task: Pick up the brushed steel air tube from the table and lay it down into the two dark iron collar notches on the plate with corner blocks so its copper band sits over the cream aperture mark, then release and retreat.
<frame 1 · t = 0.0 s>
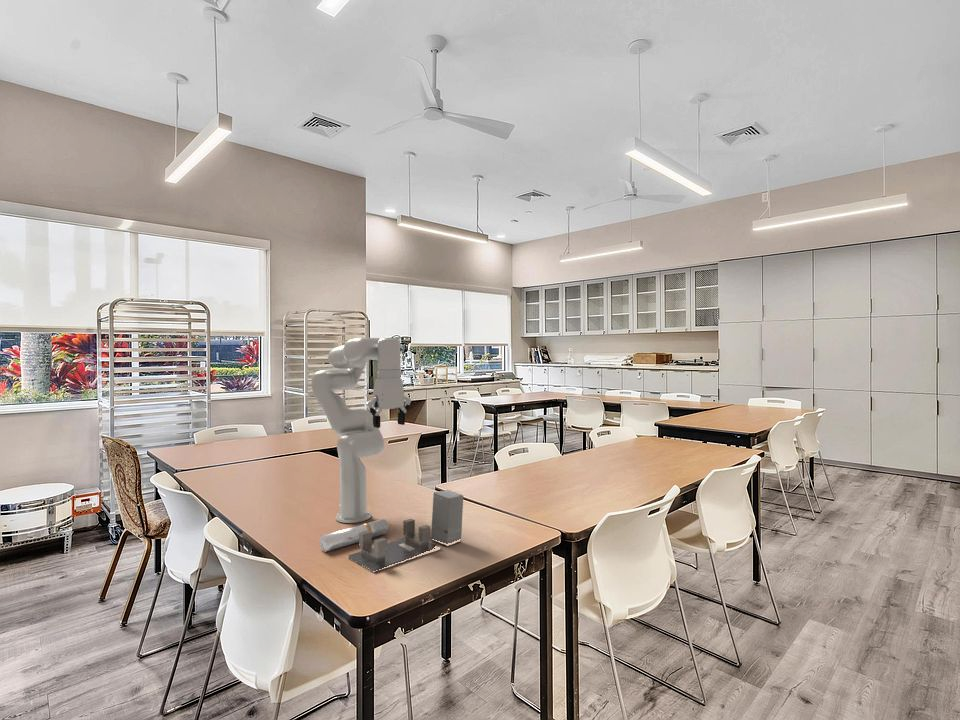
hand: (389, 425, 171), 37 cm above the table, tool pointing down, fingers open, 9 cm apart
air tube: (355, 534, 165), point 3 cm above the table
plate with corner blocks: (395, 554, 155), on the table
skincare box: (447, 542, 165), on the table
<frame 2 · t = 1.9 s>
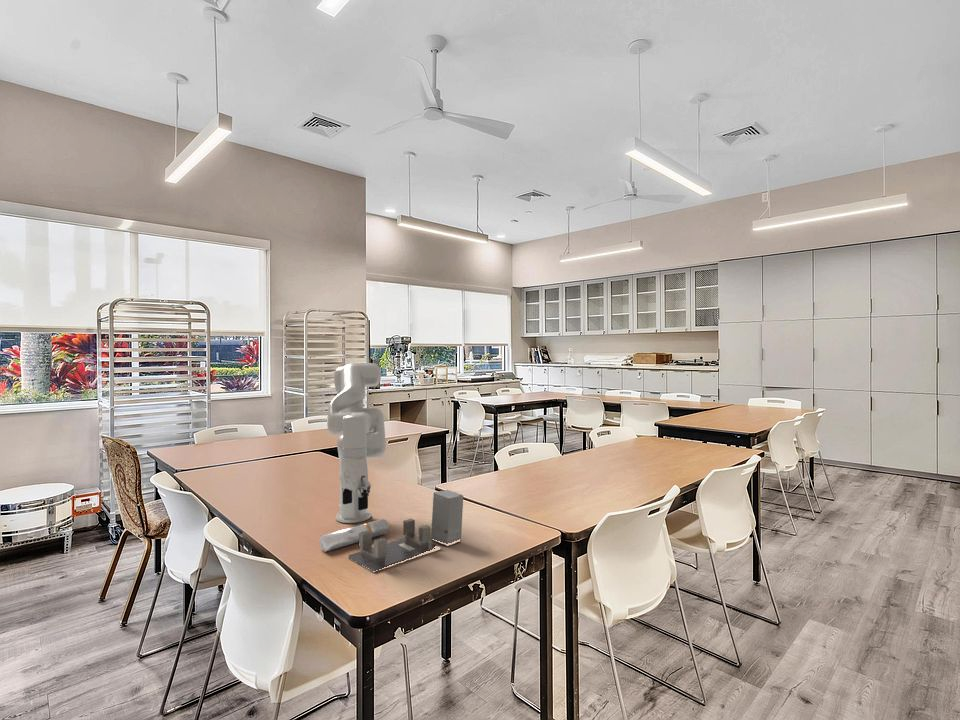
hand: (355, 506, 164), 12 cm above the table, tool pointing down, fingers open, 9 cm apart
nothing on the table moved.
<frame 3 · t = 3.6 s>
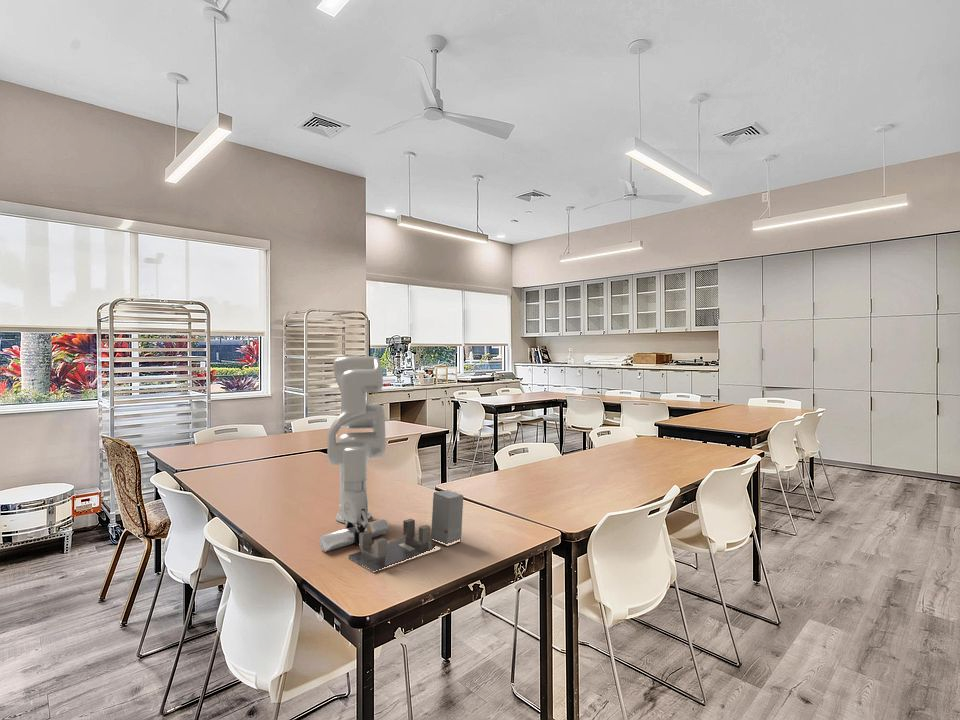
hand: (355, 540, 165), 1 cm above the table, tool pointing down, fingers closed on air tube, 5 cm apart
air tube: (355, 534, 165), point 3 cm above the table, touching gripper
everything else where it was.
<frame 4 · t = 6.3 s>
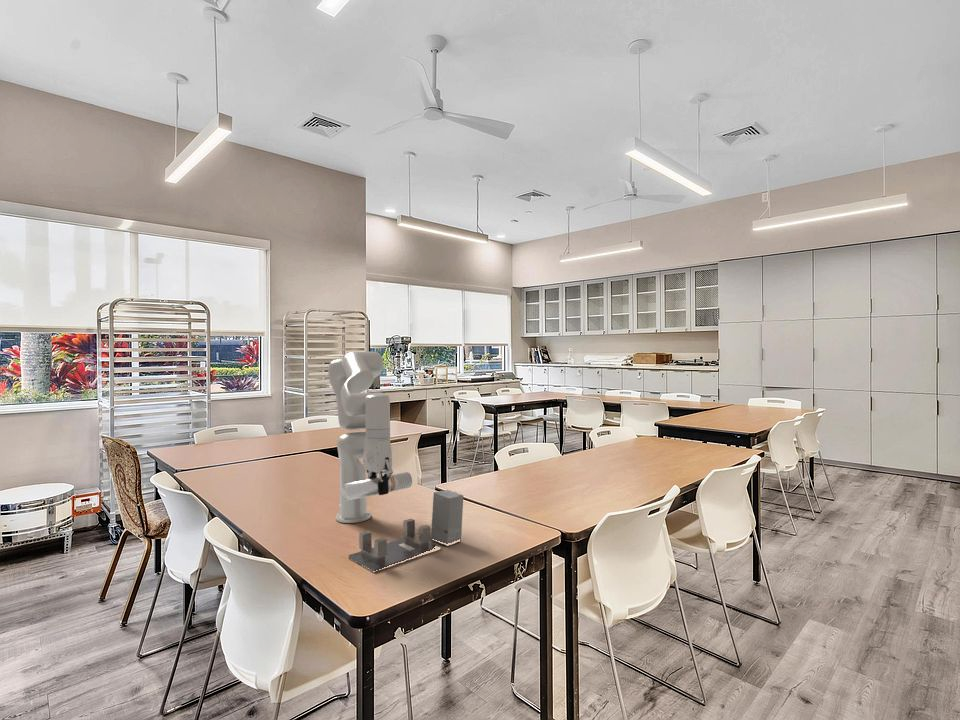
hand: (378, 492, 158), 18 cm above the table, tool pointing down, fingers closed on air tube, 5 cm apart
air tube: (378, 485, 158), point 20 cm above the table, touching gripper
everything else where it was.
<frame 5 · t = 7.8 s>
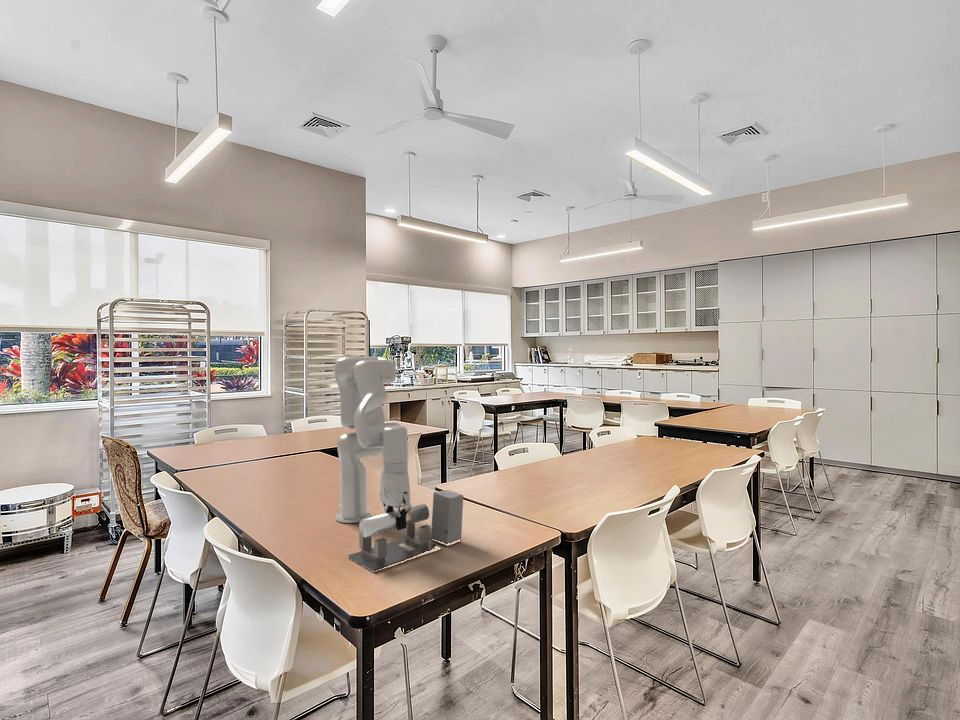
hand: (395, 526, 155), 9 cm above the table, tool pointing down, fingers closed on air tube, 5 cm apart
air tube: (395, 519, 155), point 11 cm above the table, touching gripper
everything else where it was.
when the fingers open (4 cm above the table, at t = 9.1 s): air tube stays where it is, resting on plate with corner blocks.
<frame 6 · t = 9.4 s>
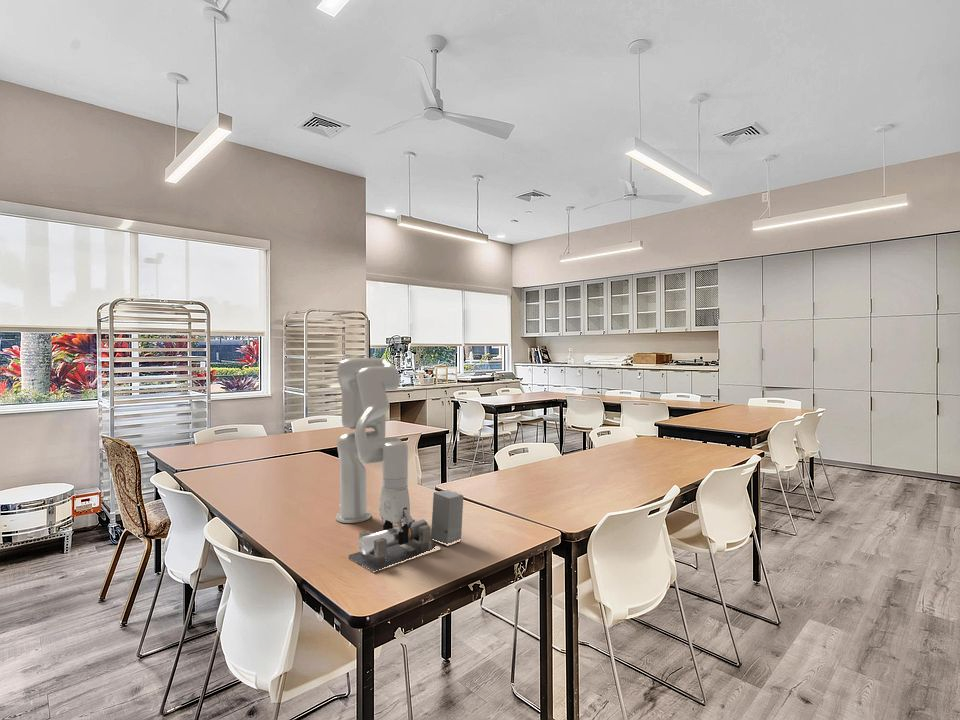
hand: (395, 539, 155), 4 cm above the table, tool pointing down, fingers open, 7 cm apart
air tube: (395, 536, 155), point 5 cm above the table, touching plate with corner blocks
everything else where it was.
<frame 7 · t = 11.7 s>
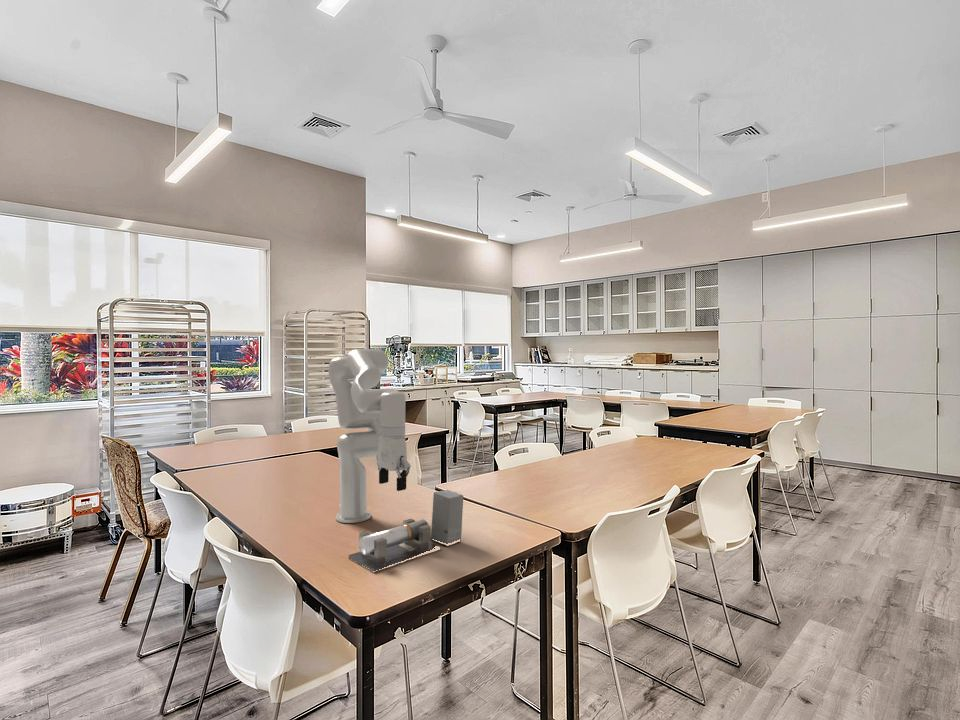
hand: (392, 486, 158), 20 cm above the table, tool pointing down, fingers open, 9 cm apart
nothing on the table moved.
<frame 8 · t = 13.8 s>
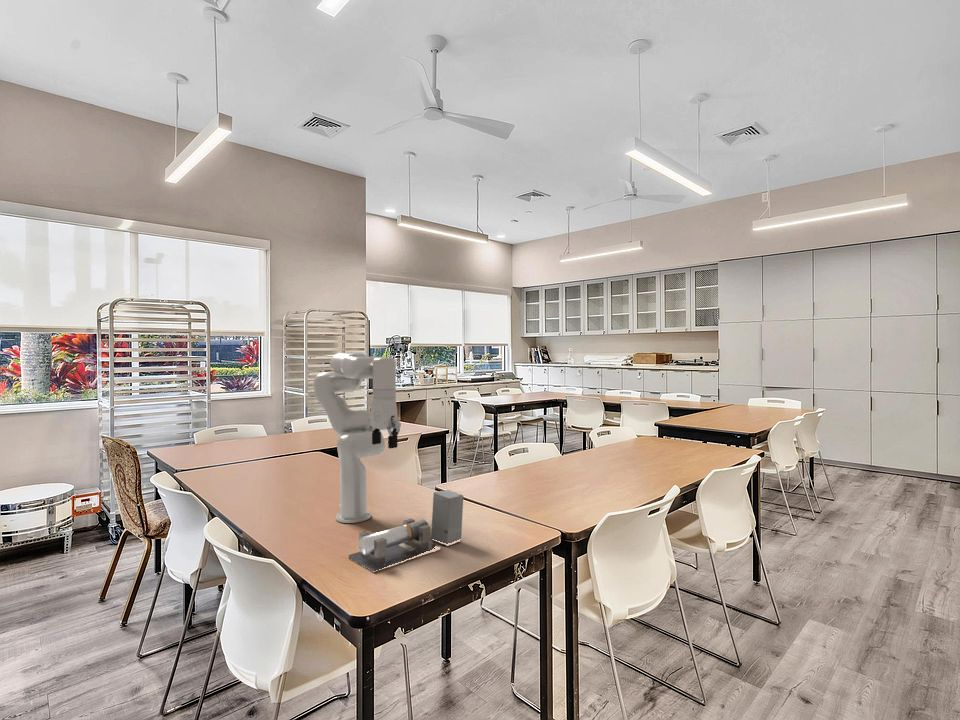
hand: (384, 445, 170), 30 cm above the table, tool pointing down, fingers open, 9 cm apart
nothing on the table moved.
at the end: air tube 0.1 cm off-centre on the plate with corner blocks, point 5.5 cm above the plate with corner blocks's base; the gripper is holding nothing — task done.
